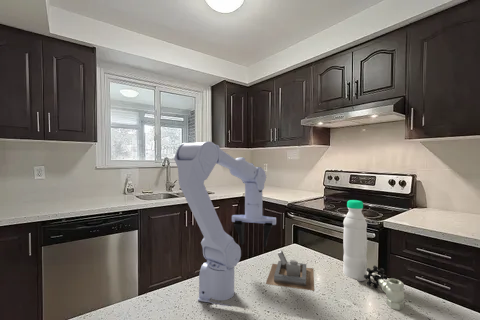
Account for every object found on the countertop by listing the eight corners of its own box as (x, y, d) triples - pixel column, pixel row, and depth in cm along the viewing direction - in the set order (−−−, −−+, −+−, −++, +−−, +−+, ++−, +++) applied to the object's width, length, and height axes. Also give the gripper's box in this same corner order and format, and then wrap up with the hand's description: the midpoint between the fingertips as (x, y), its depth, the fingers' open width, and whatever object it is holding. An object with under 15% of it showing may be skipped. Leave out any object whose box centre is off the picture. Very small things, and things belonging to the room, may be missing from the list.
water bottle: (356, 271, 86) (356, 198, 86) (372, 280, 79) (372, 202, 79) (338, 273, 84) (338, 199, 84) (353, 283, 77) (353, 203, 77)
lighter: (300, 277, 79) (300, 252, 79) (299, 279, 77) (299, 254, 77) (278, 273, 81) (278, 249, 81) (277, 276, 79) (277, 251, 79)
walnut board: (265, 287, 75) (265, 283, 75) (272, 266, 89) (272, 263, 89) (314, 294, 71) (314, 290, 71) (313, 271, 85) (313, 268, 85)
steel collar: (274, 282, 76) (274, 275, 76) (278, 266, 87) (278, 260, 87) (305, 286, 73) (305, 279, 73) (306, 269, 84) (306, 263, 84)
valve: (413, 311, 63) (385, 287, 75) (413, 285, 63) (385, 265, 75) (387, 311, 63) (363, 287, 75) (387, 285, 63) (363, 265, 75)
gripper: (277, 202, 83) (277, 242, 83) (235, 200, 87) (235, 239, 87) (274, 206, 76) (274, 250, 76) (229, 203, 80) (229, 245, 80)
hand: (253, 244), depth 81 cm, fingers open, 7 cm apart
